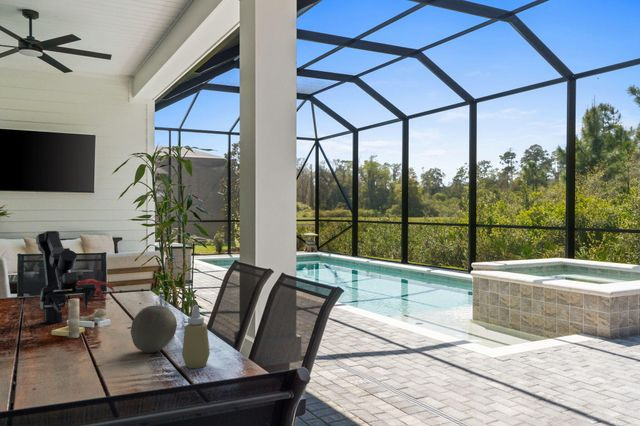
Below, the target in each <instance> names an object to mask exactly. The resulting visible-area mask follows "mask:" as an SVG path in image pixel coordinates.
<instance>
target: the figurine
mask: <svg viewBox="0 0 640 426" xmlns="http://www.w3.org/2000/svg"><path fill="white" fill-rule="evenodd" d="M106 315H107V311H106V309H104V308H100V309H98V310H97V311H96V312H95V313H93V314H90V315H88V316H87V315H86V316H79V321H91V322H94V321H93V320H92V319H94V318H104V317H105V316H106ZM67 326H69V323H68V325H67Z"/></svg>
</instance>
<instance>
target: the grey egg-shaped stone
mask: <svg viewBox="0 0 640 426" xmlns="http://www.w3.org/2000/svg"><path fill="white" fill-rule="evenodd" d="M175 315H176V314H174V312H173V311H172V310H170V309H169V308H167V307H165V306H161V305H148V306H145V307H143V308H142V309H141V310H139V311H138V313H137V314H135V317H134V318H133V320H132V323H131V327H130V328H131V329H130V335H131V340H132V343H133V345H134V347H135V348H136V349H137V350H139V351H142V352H144V353H146V354H152V353H156V352H160V351H161V350H163V349H164V348H165V347H166V346H167V345H169V344H170V342H171V340H173V338H174V336H175V334H176V332H177V328H178V321H177V318H176V316H175Z"/></svg>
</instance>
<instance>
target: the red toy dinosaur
mask: <svg viewBox="0 0 640 426" xmlns="http://www.w3.org/2000/svg"><path fill="white" fill-rule="evenodd" d="M77 283H78V286H76V288H78V287H79V286H84V284H95V285H96V291H95V294H94V295H96V296H102V294H103V293H104V291H103V290H101V289H100V286H106V287H108V288H109V289H110V290H111V291H112V292H113V293H115V290H114V288H113V286H112V285H111V284H109V283H107V282H104V281H101V280H96V279H94V278H87V279H84V280H83V279H82V280H79V281H77ZM92 298H94V297H91V299H92Z"/></svg>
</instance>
